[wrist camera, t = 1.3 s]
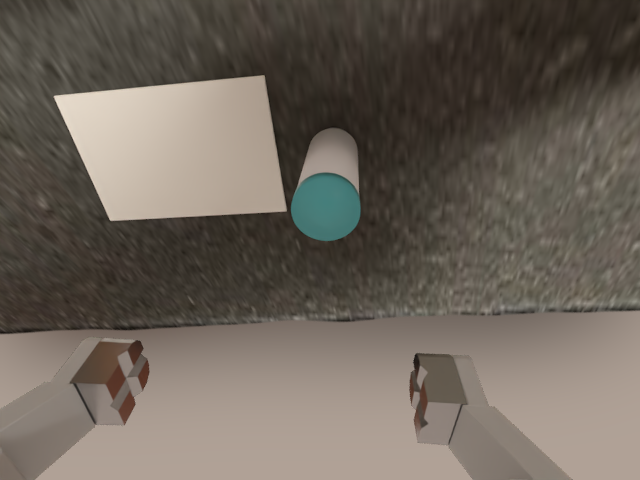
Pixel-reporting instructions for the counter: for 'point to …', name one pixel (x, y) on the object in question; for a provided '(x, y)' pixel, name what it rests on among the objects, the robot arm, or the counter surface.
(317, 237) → the marker
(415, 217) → the counter surface
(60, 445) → the robot arm
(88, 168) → the paper
